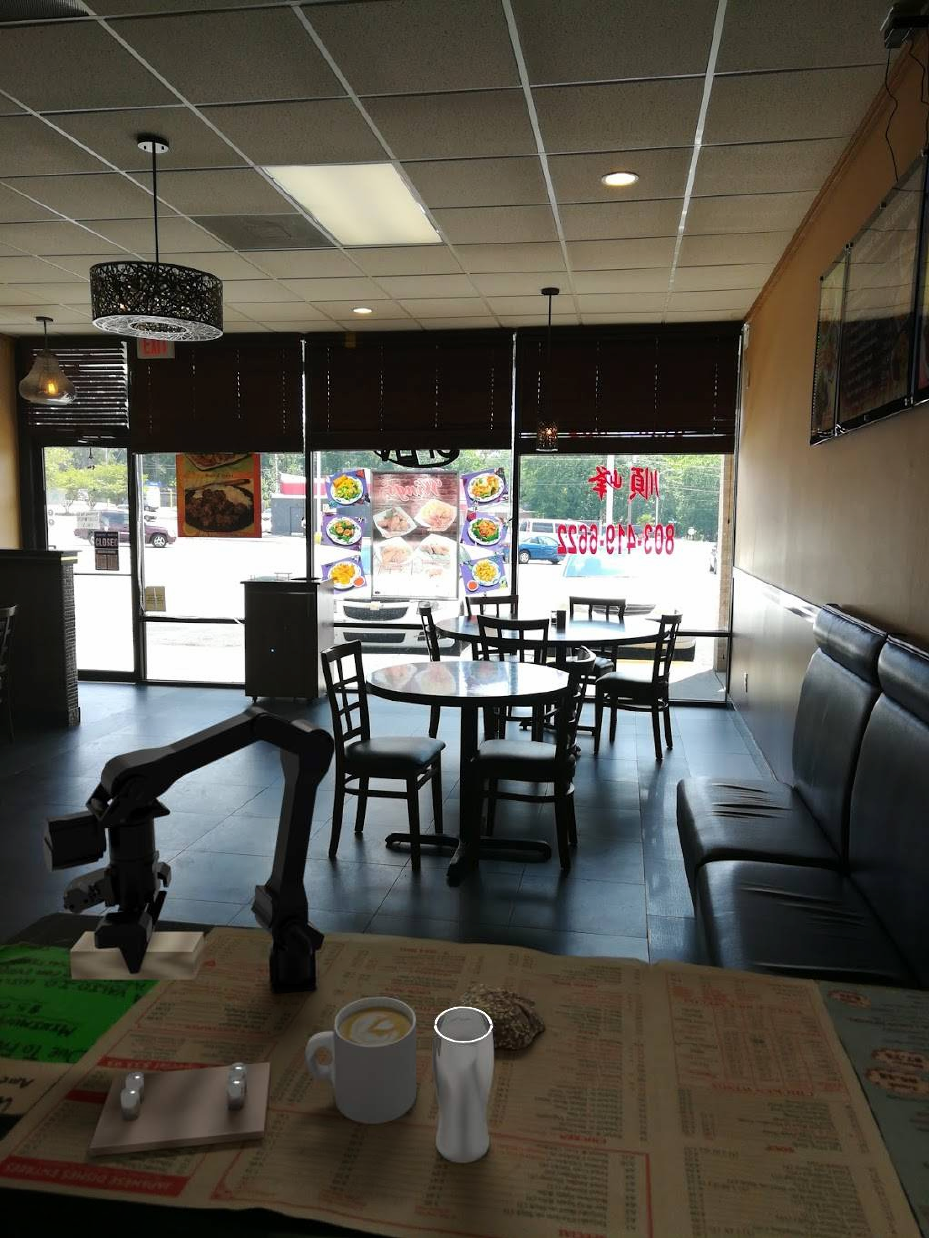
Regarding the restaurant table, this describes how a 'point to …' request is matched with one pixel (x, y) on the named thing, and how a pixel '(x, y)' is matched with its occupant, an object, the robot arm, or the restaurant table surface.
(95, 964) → the pine board
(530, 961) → the restaurant table surface
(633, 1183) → the restaurant table surface
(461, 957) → the restaurant table surface
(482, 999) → the bread roll
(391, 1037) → the coffee mug
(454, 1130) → the beer glass
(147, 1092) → the peg holder
